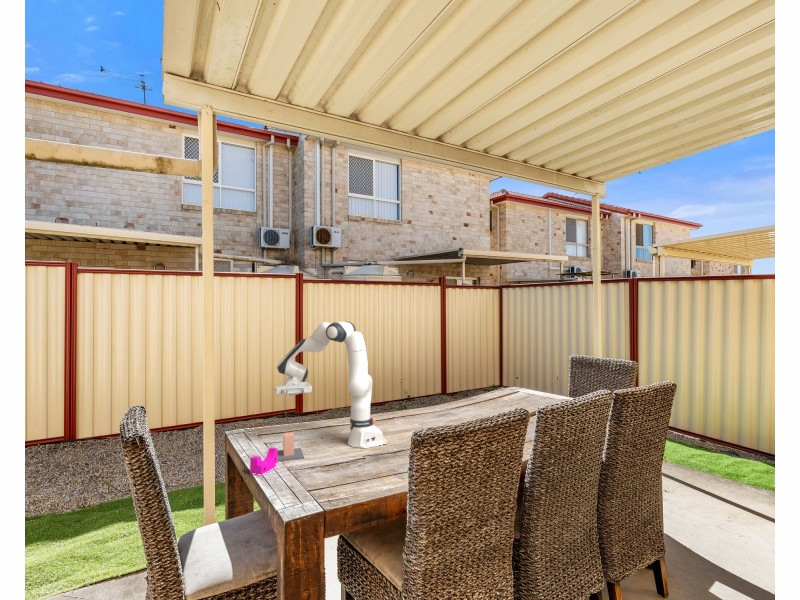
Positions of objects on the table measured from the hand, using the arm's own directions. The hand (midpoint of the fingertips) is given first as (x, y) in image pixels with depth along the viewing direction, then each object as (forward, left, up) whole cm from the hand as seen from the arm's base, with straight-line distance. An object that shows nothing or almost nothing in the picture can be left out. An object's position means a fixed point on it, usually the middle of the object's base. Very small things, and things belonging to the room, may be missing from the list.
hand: (294, 392), depth 217 cm
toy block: (+15, +26, -30) cm, 43 cm away
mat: (+4, +12, -30) cm, 33 cm away
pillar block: (+4, +12, -29) cm, 32 cm away
